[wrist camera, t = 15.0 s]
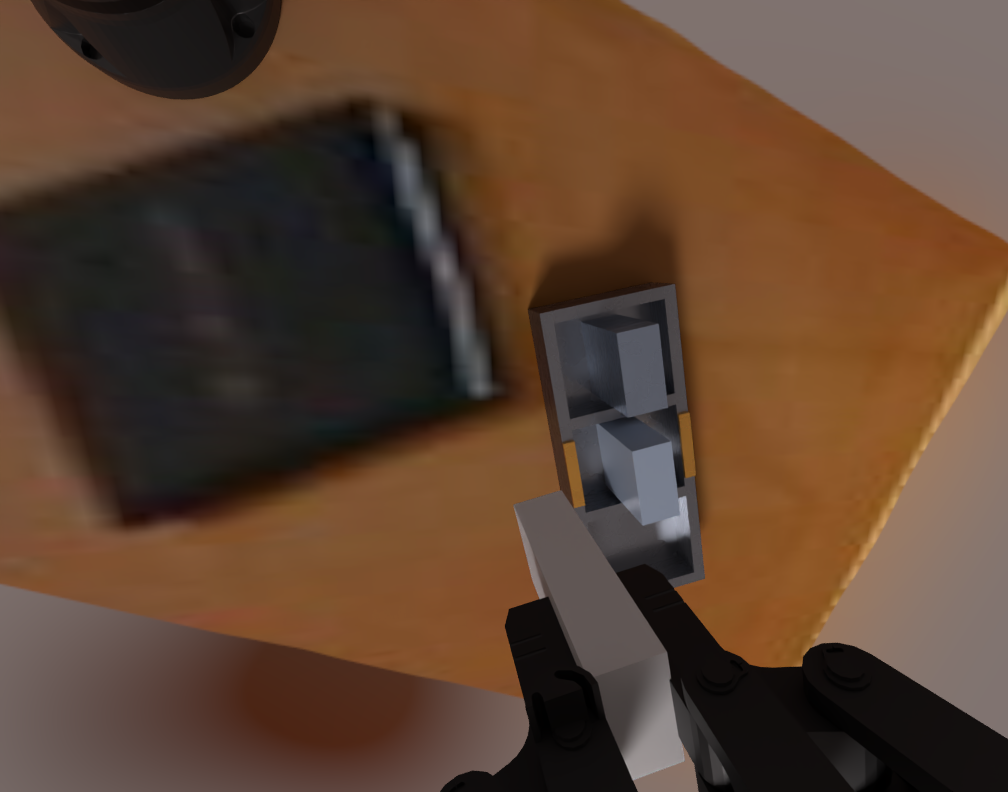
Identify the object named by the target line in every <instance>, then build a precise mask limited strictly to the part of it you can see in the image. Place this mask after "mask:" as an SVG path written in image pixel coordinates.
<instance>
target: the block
mask: <svg viewBox="0 0 1008 792" xmlns="http://www.w3.org/2000/svg"><path fill="white" fill-rule="evenodd" d="M596 427H597V433H598V439H599V446H600V452H601V458H602V464H603V470H604V476H605V482H606V486H607V487H608V488H609V489H610V490H611V491H612V492H613V493H614V494H615V496H616V497H617V498H618V499H619V500H620V501H621V502H622V503H623V504H624V506H625V507H626V508H627V509H628V510H629V511H630V512H631V513H632V514H633V516H634V517H635V518H636V519H637V520H638V521H639V522H640V523H641V524H642V526H644V525H647V524H651V523H654V522H658V521H661V520H665V519H668V518H672V517H675V516H679V515H680V509H679V500H678V492H677V484H676V476H675V468H674V460H673V452H672V443H671V441H670V440H669V439H667V438H666V437H664V436H663V435H661V434H660V433H658V432H657V431H655V430H654V429H652V428H651V427H649V426H648V425H646V424H645V423H643V422H642V421H640V420H639V419H637V418H636V417H634V416H633V417H629V418H628V417H624V418H620V419H616V420H612V421H608V422H604V423H600V424H596Z"/></svg>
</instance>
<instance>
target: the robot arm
mask: <svg viewBox="0 0 1008 792" xmlns="http://www.w3.org/2000/svg"><path fill="white" fill-rule="evenodd" d="M31 2H32V3H33V5H34V7H35V8H36V10H37V11H38V13H39V14H40V15H41V17H42V18H43V19H44V21H45V22H46V23H47V24H48V25H49V27H50V28H51V29H52V30H53V31H54V32H55V33H56V34H57V35H58V37H59V38H60V39H61V40H62V41H63V42H65V43H66V44H67V45H68V46H69V47H70V48H71V49H72V50H73V51H74V52H76V53H77V54H78V55H79V56H80V57H82V58H83V59H84V60H86V61H87V62H89V63H90V64H92V65H93V66H95V67H96V68H98V69H99V70H101V71H102V72H104V73H105V74H107V75H109V76H110V77H112V78H113V79H115V80H117V81H119V82H120V83H122V84H124V85H126V86H128V87H131V88H133V89H135V90H138V91H141V92H144V93H147V94H150V95H154V96H158V97H163V98H170V99H197V98H204V97H209V96H212V95H216V94H218V93H221V92H224V91H226V90H228V89H230V88H232V87H234V86H235V85H237V84H238V83H240V82H241V81H243V80H244V79H245V78H246V77H247V76H249V75H250V74H251V73H252V72H253V71H254V70H255V69H256V68H257V66H258V65H259V64H260V63H261V61H262V60H263V58H264V57H265V55H266V54H267V52H268V50H269V48H270V46H271V44H272V41H273V39H274V36H275V33H276V30H277V26H278V22H279V17H280V9H281V0H31ZM514 509H515V513H516V517H517V521H518V525H519V529H520V533H521V537H522V541H523V544H524V548H525V552H526V556H527V560H528V564H529V568H530V572H531V576H532V580H533V583H534V585H535V588H536V591H537V593H538V596H539V598H540V599H539V600H535V601H532V602H529V603H526V604H523V605H520V606H517V607H514V608H511V609H509V612H508V616H507V620H506V624H505V629H506V633H507V637H508V640H509V644H510V648H511V652H512V655H513V659H514V663H515V667H516V671H517V674H518V678H519V682H520V686H521V689H522V693H523V697H524V701H525V705H526V706H525V707H526V711H527V715H528V719H529V732H528V736H527V739H526V742H525V744H524V746H523V748H522V749H521V751H520V752H519V754H518V755H517V756H516V757H515V758H514V759H513V760H512V761H511V762H510V763H509V764H508V765H506V766H505V767H504V768H502V769H501V770H500V771H499V772H497V773H496V774H495V775H493V776H492V775H491V774H489V773H488V772H482V771H470V772H467V773H464V774H461V775H458V776H456V777H455V778H454V779H452V780H451V781H450V782H448V783H447V784H446V785H445V786H444V787H443V788H442V790H441V791H440V792H638V791H637V789H636V787H635V784H634V782H633V780H635V779H638V778H640V777H643V776H646V775H649V774H651V773H654V772H657V771H659V770H662V769H665V768H667V767H670V766H673V765H676V764H678V763H681V762H683V761H685V759H684V753H683V747H682V743H683V745H684V747H685V749H686V750H687V752H688V754H689V756H690V757H691V759H692V761H693V763H694V765H695V772H696V778H697V784H698V791H699V792H1008V739H1007V738H1005V737H1004V736H1002V735H1000V734H999V733H997V732H995V731H994V730H992V729H991V728H989V727H988V726H986V725H984V724H983V723H981V722H980V721H978V720H976V719H975V718H973V717H971V716H970V715H968V714H967V713H965V712H963V711H962V710H960V709H958V708H957V707H955V706H954V705H952V704H951V703H949V702H947V701H946V700H944V699H942V698H941V697H939V696H938V695H936V694H934V693H933V692H931V691H930V690H928V689H926V688H925V687H923V686H921V685H920V684H918V683H917V682H915V681H913V680H912V679H910V678H909V677H907V676H905V675H904V674H902V673H900V672H899V671H897V670H896V669H894V668H892V667H891V666H889V665H888V664H886V663H884V662H883V661H881V660H880V659H878V658H876V657H875V656H873V655H872V654H870V653H868V652H865V651H863V650H861V649H859V648H857V647H855V646H850V645H846V644H841V643H823V644H820V645H817V646H815V647H812V648H810V649H809V650H808V652H807V653H806V654H805V655H804V656H803V664H802V667H777V668H769V667H758V666H753V665H749V664H748V663H747V662H746V661H745V660H744V659H742V658H741V657H740V656H738V655H735V654H733V653H731V652H728V651H725V650H724V649H723V648H722V647H721V646H720V645H719V644H718V643H717V642H716V640H715V639H714V638H713V636H712V635H711V634H710V633H709V631H708V630H707V629H706V628H705V626H704V625H703V624H702V623H701V621H700V620H699V619H698V618H697V616H696V615H695V614H694V613H693V611H692V610H691V609H690V608H689V606H688V605H687V604H686V603H684V601H683V599H682V598H681V596H680V595H679V594H678V593H677V591H675V590H674V587H673V586H672V585H671V584H670V582H669V581H668V580H667V579H666V577H665V576H664V575H663V574H662V573H661V572H659V571H657V570H655V569H653V568H652V567H650V566H648V565H646V564H642V565H639V566H636V567H633V568H630V569H627V570H623V571H620V572H617V573H615V571H614V570H613V568H612V567H611V565H610V564H609V562H608V561H607V559H606V558H605V556H604V555H603V553H602V551H601V550H600V548H599V547H598V545H597V544H596V542H595V541H594V539H593V538H592V536H591V535H590V533H589V532H588V530H587V528H586V527H585V525H584V524H583V522H582V521H581V519H580V518H579V516H578V515H577V513H576V512H575V510H574V509H573V507H572V506H571V504H570V502H569V501H568V499H567V498H566V496H565V495H564V493H563V492H562V490H561V491H557V492H554V493H551V494H547V495H544V496H541V497H537V498H534V499H531V500H527V501H524V502H521V503H517V504H514Z"/></svg>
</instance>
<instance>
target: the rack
mask: <svg viewBox="0 0 1008 792" xmlns="http://www.w3.org/2000/svg"><path fill="white" fill-rule="evenodd" d="M528 313H529V319H530V324H531V330H532V335H533V341H534V346H535V352H536V358H537V363H538V369H539V374H540V380H541V385H542V391H543V396H544V402H545V407H546V413H547V418H548V424H549V430H550V435H551V441H552V446H553V452H554V457H555V463H556V468H557V474H558V479H559V485H560V490H562V492H563V493H564V495H565V496H566V498H567V499H568V501H569V502H570V504H571V506H572V507H573V509H574V510H575V512H576V513H577V515H578V516H579V518H580V519H581V521H582V522H583V524H584V525H585V527H586V528H587V530H588V532H589V533H590V535H591V536H592V538H593V539H594V541H595V542H596V544H597V545H598V547H599V548H600V550H601V551H602V553H603V555H604V556H605V558H606V559H607V561H608V562H609V564H610V565H611V567H612V568H613V570H614V571H615V573H617V572H620V571H623V570H627V569H630V568H633V567H636V566H639V565H642V564H646V565H648V566H650V567H652V568H653V569H655V570H657V571H659V572H661V573H662V574H663V575H664V576H665V577H666V579H667V580H668V581H669V582H670V584H671V585H672V586H673V587H674V588H675V587H678V586H681V585H685V584H688V583H691V582H695V581H698V580H702V579H705V574H704V565H703V555H702V545H701V535H700V525H699V516H698V506H697V496H696V486H695V476H696V470H695V460H694V450H693V440H692V430H691V420H690V412H688V408H687V398H686V388H685V378H684V368H683V359H682V349H681V339H680V329H679V319H678V309H677V300H676V290H675V284H668V283H652V282H651V283H647V284H642V285H638V286H633V287H628V288H624V289H619V290H615V291H610V292H606V293H601V294H596V295H592V296H587V297H583V298H578V299H574V300H569V301H564V302H560V303H555V304H551V305H546V306H541V307H537V308H532V309H528ZM633 416H634V417H636V418H637V419H639V420H640V421H642V422H643V423H645V424H646V425H648V426H649V427H651V428H652V429H654V430H655V431H657V432H658V433H660V434H661V435H663V436H664V437H666V438H667V439H669V440H670V441H671V443H672V452H673V460H674V468H675V476H676V484H677V492H678V500H679V509H680V515H679V516H675V517H672V518H668V519H665V520H661V521H658V522H654V523H651V524H647V525H644V526H642V524H641V523H640V522H639V521H638V520H637V519H636V518H635V517H634V516H633V514H632V513H631V512H630V511H629V510H628V509H627V508H626V507H625V506H624V504H623V503H622V502H621V501H620V500H619V499H618V498H617V497H616V496H615V494H614V493H613V492H612V491H611V490H610V489H609V488H608V487H607V486H606V482H605V476H604V470H603V464H602V458H601V452H600V446H599V439H598V433H597V427H596V424H600V423H604V422H608V421H612V420H616V419H620V418H624V417H628V418H629V417H633Z"/></svg>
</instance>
